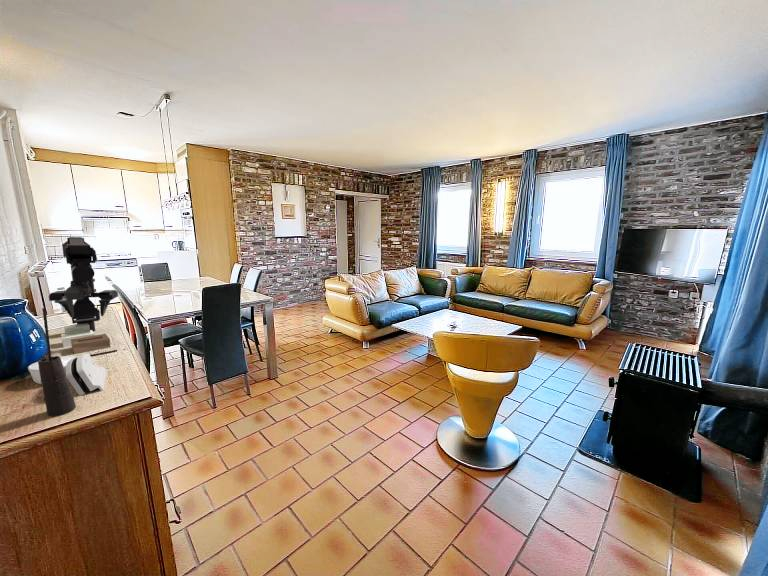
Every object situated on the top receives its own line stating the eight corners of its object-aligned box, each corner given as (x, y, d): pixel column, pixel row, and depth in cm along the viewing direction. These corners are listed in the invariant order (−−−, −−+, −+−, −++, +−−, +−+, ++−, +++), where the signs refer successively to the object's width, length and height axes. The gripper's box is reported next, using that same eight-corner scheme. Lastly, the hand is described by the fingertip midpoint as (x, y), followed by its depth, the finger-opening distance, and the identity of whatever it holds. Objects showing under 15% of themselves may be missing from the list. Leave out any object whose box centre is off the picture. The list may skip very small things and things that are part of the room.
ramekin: (81, 378, 97) (79, 363, 96) (28, 390, 89) (25, 373, 89) (81, 367, 105) (79, 353, 104) (32, 377, 97) (30, 361, 97)
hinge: (103, 390, 90) (83, 363, 87) (82, 400, 88) (61, 372, 84) (107, 371, 103) (90, 346, 99) (89, 378, 100) (71, 353, 97)
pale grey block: (66, 343, 123) (63, 326, 121) (90, 339, 128) (88, 323, 127) (67, 345, 120) (64, 328, 119) (91, 341, 126) (89, 325, 124)
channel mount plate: (66, 350, 119) (64, 338, 118) (110, 343, 129) (109, 331, 128) (70, 360, 110) (68, 347, 109) (117, 351, 120) (115, 339, 119)
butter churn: (33, 409, 80) (16, 304, 75) (84, 397, 86) (71, 300, 82) (29, 425, 73) (10, 312, 69) (84, 410, 80) (70, 306, 76)
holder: (62, 346, 123) (61, 334, 122) (93, 341, 130) (91, 330, 129) (64, 350, 119) (62, 338, 118) (95, 345, 125) (94, 333, 125)
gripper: (35, 280, 106) (42, 324, 109) (103, 280, 113) (107, 321, 116) (55, 276, 116) (61, 315, 119) (116, 276, 123) (120, 313, 126)
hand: (87, 316), depth 120 cm, fingers open, 9 cm apart
